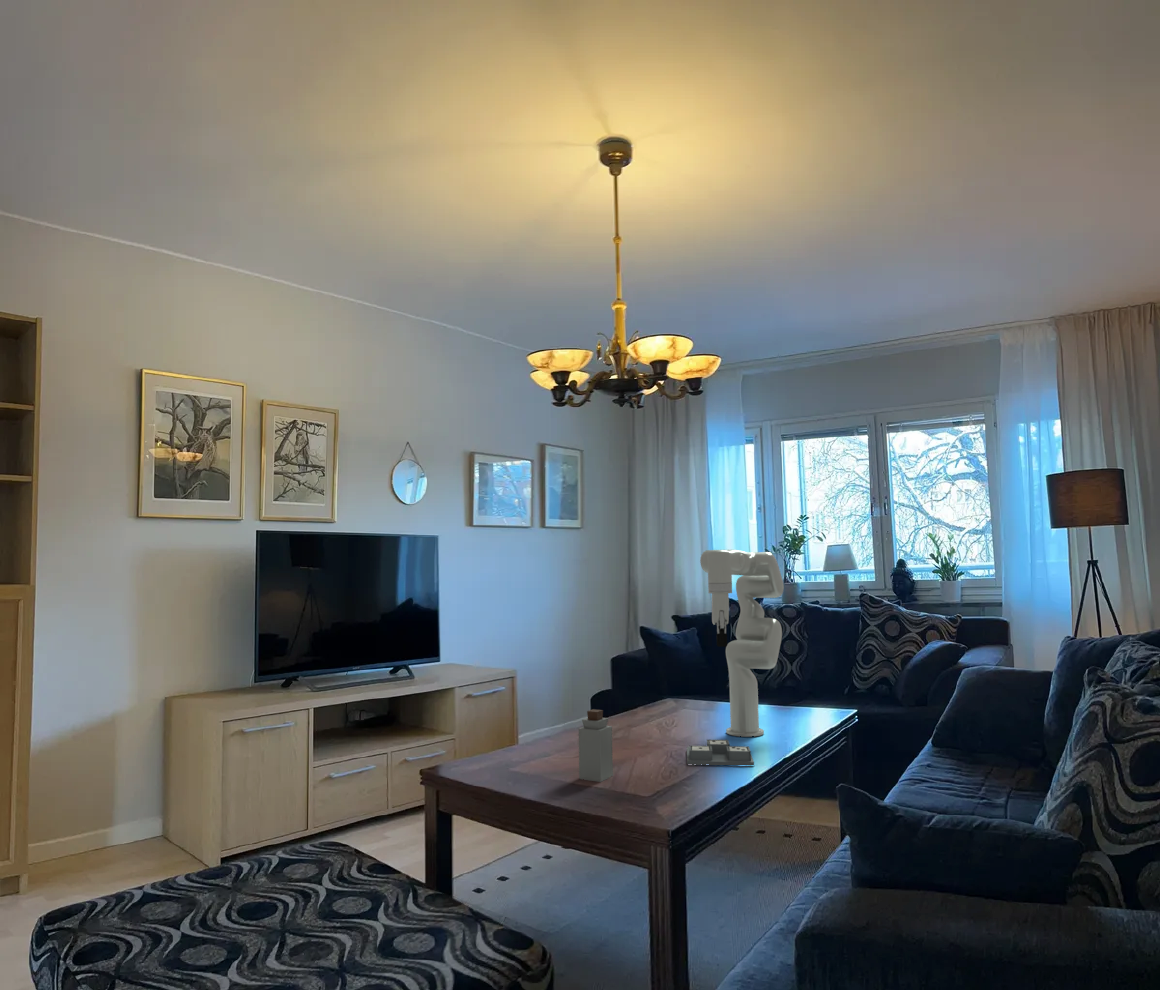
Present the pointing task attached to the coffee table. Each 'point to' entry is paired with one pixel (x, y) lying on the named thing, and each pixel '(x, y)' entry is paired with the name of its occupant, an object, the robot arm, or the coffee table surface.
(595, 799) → the coffee table surface
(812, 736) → the coffee table surface
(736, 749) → the button three
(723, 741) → the button two
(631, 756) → the coffee table surface
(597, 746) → the perfume bottle
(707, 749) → the button one
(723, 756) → the button board
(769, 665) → the robot arm
